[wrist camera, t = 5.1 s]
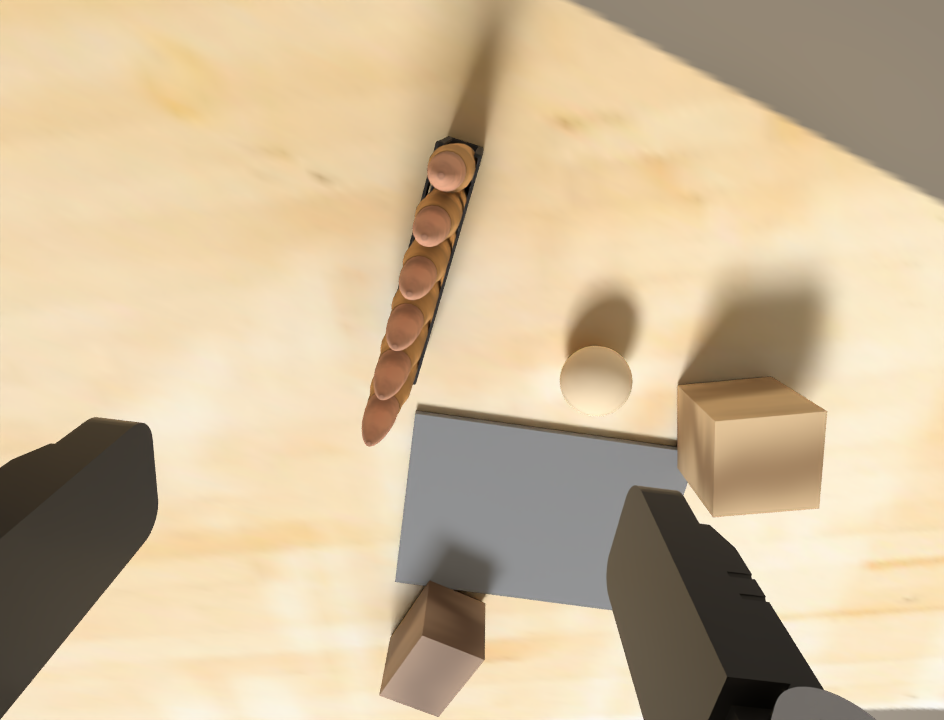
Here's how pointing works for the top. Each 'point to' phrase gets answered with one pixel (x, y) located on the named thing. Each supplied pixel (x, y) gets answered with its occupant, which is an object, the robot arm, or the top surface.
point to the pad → (520, 507)
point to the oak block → (750, 446)
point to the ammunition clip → (421, 281)
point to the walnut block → (434, 649)
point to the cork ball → (596, 381)
